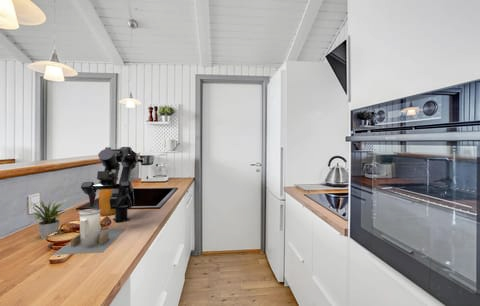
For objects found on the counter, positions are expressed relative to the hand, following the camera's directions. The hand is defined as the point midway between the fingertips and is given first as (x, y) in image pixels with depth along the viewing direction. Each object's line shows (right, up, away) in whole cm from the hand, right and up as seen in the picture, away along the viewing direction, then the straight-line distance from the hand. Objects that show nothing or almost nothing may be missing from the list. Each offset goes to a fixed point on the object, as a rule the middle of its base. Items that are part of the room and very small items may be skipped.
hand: (103, 206), depth 99 cm
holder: (-1, -13, -5) cm, 14 cm away
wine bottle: (-17, -12, +36) cm, 41 cm away
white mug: (-1, -12, -9) cm, 15 cm away
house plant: (-24, -13, 0) cm, 27 cm away
